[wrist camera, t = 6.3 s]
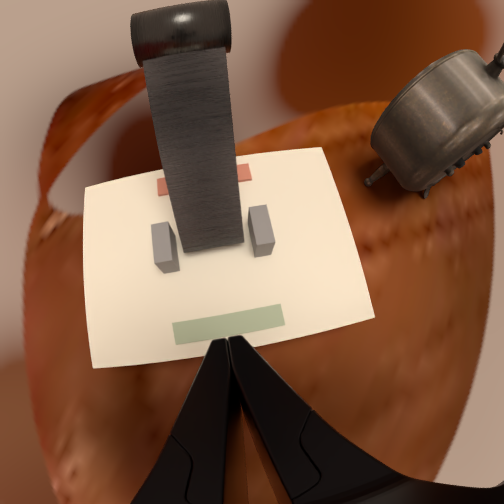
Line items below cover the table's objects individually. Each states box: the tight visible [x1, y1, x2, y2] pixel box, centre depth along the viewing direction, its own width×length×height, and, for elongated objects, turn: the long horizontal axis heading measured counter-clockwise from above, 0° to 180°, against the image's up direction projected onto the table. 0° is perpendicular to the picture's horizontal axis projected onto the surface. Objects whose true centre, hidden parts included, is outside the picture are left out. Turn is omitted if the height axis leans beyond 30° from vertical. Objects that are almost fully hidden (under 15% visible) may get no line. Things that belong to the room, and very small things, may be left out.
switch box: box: [83, 147, 375, 368], centre depth 16 cm, size 10×14×6 cm
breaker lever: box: [130, 0, 244, 253], centre depth 11 cm, size 2×3×10 cm
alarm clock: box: [364, 43, 504, 198], centre depth 14 cm, size 11×5×16 cm, turn 120°
